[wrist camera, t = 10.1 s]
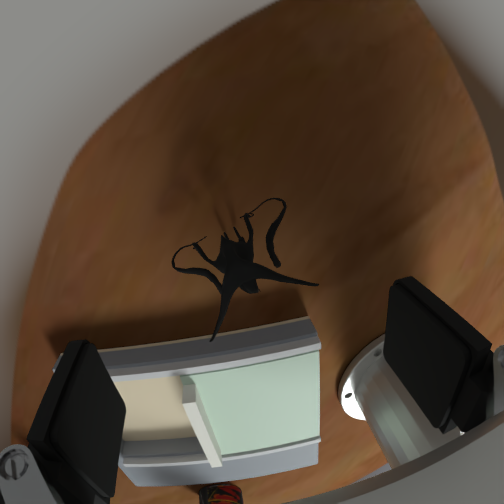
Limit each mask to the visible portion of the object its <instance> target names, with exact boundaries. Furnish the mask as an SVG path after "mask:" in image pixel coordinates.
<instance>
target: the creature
mask: <svg viewBox="0 0 504 504" xmlns="http://www.w3.org/2000/svg"><path fill="white" fill-rule="evenodd" d="M271 199H276V200H279V201H282V203H283V206H284V208H283V210H282V211H281V213H280V215H279V216H278V218H277V219H276V220H275V221H274V222H273V223H272V224H271V226H270V228H269V230H268V232H267V235H266V246H267V251H268V253H269V255H270V258H271V260H272V261H273V264H274V266H275V267H276V268H278V267H280V266H281V263H280V261H279V260H278V258H277V256H276V254H275V252H274V245H273V239H274V235H275V232H276V230H277V228H278V226H279V224H280V222H281V220H282V218H283V216H284V213H285V210H286V202H285V201H284V200H283V199H280V198H270V199H267V200H266V201H268V200H271ZM266 201H264V202H266ZM264 202H263V203H264ZM263 203H261V204H260V205H262V204H263ZM260 205H259V206H260ZM259 206H258V207H259ZM258 207H257V208H258ZM257 208H256V209H257ZM256 209H254V210H253V211H255V210H256ZM253 211H251V212H253ZM251 212H250V214H252V213H251ZM252 216H254V214H253V215H252ZM252 216H250V215H249V213H245V215H244V216H242V217H244V220H245V222H246V225H247V228H248V231H249V240H248V242H247V243H246V242H245V240H244V238H243V237H241V236H240V235H239V233H238V231H237V230H236V228H235V227H233V228H234V231H235V233H236V235H237V236H238V238H239V239H238V240H239V242H234V241H232V240H229V238H228V236H227V234H226V233H225V232H224V235H225V237H223V236H222V235H221V246H220V253H219V255H218V257H217V259H216V261H212V260H210V259H208V257H207V256H206V255H205V253H204V252H203V250H202V249H201V247H200V246H199V245H198V244H197V243H198V242H199V241H198V242H196V243H195V242H194V243H192V244H191V245H193V246H194V247H195V248H193V249H196V250H197V251H198V253H199V254H200V255H201V256H202V257H203V259H204V260H206V261H207V262H209V263H210V264H212V265H213V266H215V267H216V268H217V269H218V270H220V271H221V272H222V273H224V274H225V275H224V279H223V284H221V283H220V282H219V281H218V279H217V277H216V276H215V275H214V274H212V273H211V272H210V271H209V270H207V269H203V268H188V269H183V268H177V267H175V263H174V258H175V256H176V254H177V253H178V252H179V251H180V250H181V249H183V248H184V247H188V246H191V245H187V246H184V247H182V248H180V249H179V250H178V251H177V252H176V253H175V254H174V256H173V258H172V267H173V268H174V269H175V270H177V271H178V272H182V273H188V274H197V275H202V276H205V277H207V278H208V279H209V280H210V281H211V282H213V283H214V284H215V286H216V287H217V289H218V290H219V292H220V294H221V307H220V314H219V317H218V321H217V324H216V327H215V330H214V333H213V335H212V337H211V339H210V341H209V342H212V341H213V340H214V338H215V337H216V335H217V333H218V330H219V328H220V326H221V324H222V321H223V319H224V317H225V314H226V312H227V309H228V305H229V302H230V299H231V297H232V295H233V293H234V292H235V290H236V289H237V288H238V287H240V288H241V289H242V290H244V291H245V292H247V293H249V294H251V293H258V292H259V291H260V290H259V289H258V286H257V283H256V279H270V280H275V281H279V282H286V283H294V284H301V285H308V286H318V285H319V284H315V283H310V282H306V281H302V280H298V279H294V278H290V277H287V276H284V275H281V274H279V273H277V272H275V271H273V270H270V269H268V268H266V267H264V266H262V265H259V264H256V263H253V257H254V253H253V229H252V226H251V224H250V221H249V218H250V217H252ZM240 218H241V217H240ZM206 237H207V236H206ZM204 238H205V237H204ZM204 238H203V239H204ZM203 239H201V240H203ZM201 240H200V241H201ZM260 292H261V291H260Z"/></svg>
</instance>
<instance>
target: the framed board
mask: <svg viewBox="0 0 504 504" xmlns="http://www.w3.org/2000/svg"><path fill="white" fill-rule="evenodd" d="M212 335H213V334H212ZM212 335H206V336H200V337H194V338H187V339H181V340H174V341H167V342H160V343H152V344H145V345H137V346H128V347H120V348H111V349H101V350H97V351H98V353H99V355H100V357H101V359H102V361H103V363H104V365H105V367H106V369H107V371H108V373H109V375H110V377H111V379H112V381H113V382H114V384H115V386H116V388H117V390H118V392H119V393H120V395H121V397H122V399H123V401H124V403H125V406H126V416H125V422H124V428H123V435H122V441H121V448H120V455H119V462H118V466H119V467H120V468H121V469H122V471H123V472H124V473H125V474H126V475H127V476H128V478H129V479H130V480H131V481H132V482H133V483H134V484H135V485H136V486H177V485H194V484H206V483H216V482H225V481H232V480H240V479H246V478H253V477H259V476H264V475H270V474H275V473H280V472H285V471H289V470H294V469H298V468H302V467H306V466H310V465H314V464H318V442H321V437H320V435H319V436H316V437H312V438H308V439H304V440H300V441H295V442H291V443H287V444H282V445H277V446H272V447H267V448H262V449H257V450H251V451H245V452H238V453H232V454H224V455H221V456H222V467H213V468H212V467H211V465H210V463H209V461H208V459H207V457H206V455H205V453H204V451H203V449H202V447H201V444H200V442H199V440H198V438H197V436H196V434H195V432H194V429H193V427H192V425H191V423H190V421H189V418H188V416H187V414H186V411H185V409H184V407H183V404H182V396H183V384H182V381H181V379H180V375H186V374H193V373H200V372H207V371H214V370H220V369H226V368H232V367H238V366H243V365H249V364H254V363H259V362H264V361H269V360H274V359H279V358H284V357H288V356H293V355H297V354H302V353H306V352H310V351H315V350H319V349H321V342H320V340H319V338H318V336H317V331H316V329H315V327H314V325H313V324H312V322H311V320H310V318H309V316H306V317H301V318H296V319H292V320H287V321H282V322H277V323H272V324H267V325H262V326H257V327H252V328H246V329H241V330H235V331H230V332H224V333H218V334H217V335H216V337H215V338H214V340H213V341H212V342H209V341H210V339H211V337H212ZM62 355H63V353H61V354H60V356H59V358H58V360H57V361H56V363H55V365H54V367H53V369H52V370H53V372H55V370H56V368H57V366H58V363H59V361H60V359H61V357H62Z"/></svg>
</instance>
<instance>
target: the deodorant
mask: <svg viewBox="0 0 504 504" xmlns="http://www.w3.org/2000/svg"><path fill="white" fill-rule="evenodd" d="M199 501H200V504H243V498H242V491H241V489H240V488H238V487H236V486H233V485H228V484H216V485H210V486H206V487H204V488H202V489H201V490H200V491H199Z"/></svg>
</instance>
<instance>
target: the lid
mask: <svg viewBox="0 0 504 504" xmlns="http://www.w3.org/2000/svg"><path fill="white" fill-rule="evenodd" d="M180 379H181V381H182V384H183V396H182V404H183V407H184V409H185V411H186V414H187V416H188V418H189V421H190V423H191V425H192V427H193V429H194V432H195V434H196V436H197V438H198V440H199V442H200V444H201V447H202V449H203V451H204V453H205V455H206V457H207V459H208V461H209V463H210V465H211V467H212V468H213V467H222V456H221V455H224V454H232V453H238V452H245V451H251V450H257V449H262V448H267V447H272V446H277V445H282V444H287V443H291V442H295V441H300V440H304V439H308V438H312V437H316V436H319V431H320V372H319V350H315V351H310V352H306V353H302V354H297V355H293V356H288V357H284V358H279V359H274V360H269V361H264V362H259V363H254V364H249V365H243V366H238V367H232V368H226V369H220V370H214V371H207V372H200V373H193V374H186V375H180Z"/></svg>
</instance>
